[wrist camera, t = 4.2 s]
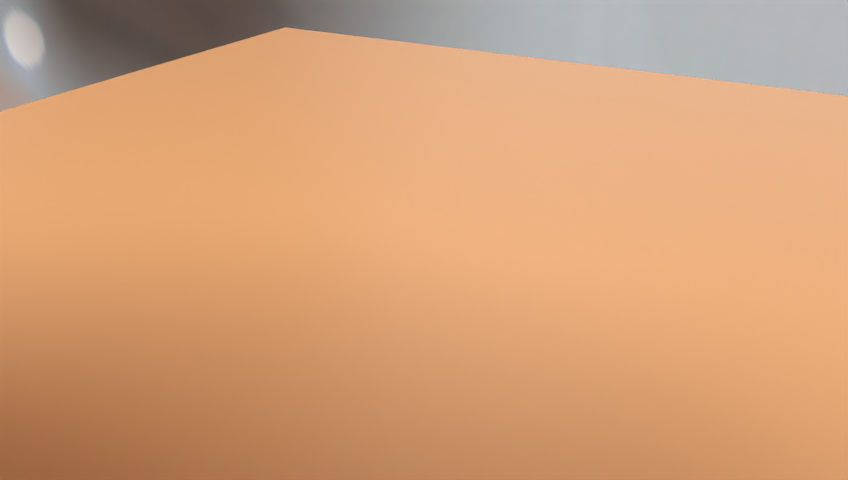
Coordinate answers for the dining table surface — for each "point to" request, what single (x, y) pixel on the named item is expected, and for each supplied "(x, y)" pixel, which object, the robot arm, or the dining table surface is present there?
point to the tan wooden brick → (422, 271)
